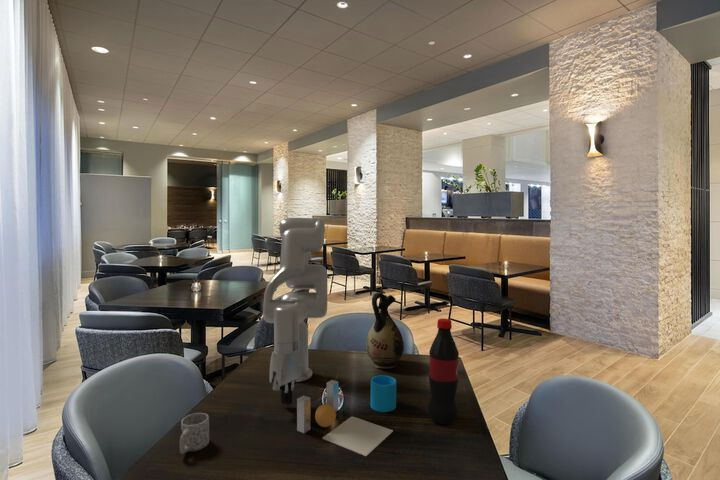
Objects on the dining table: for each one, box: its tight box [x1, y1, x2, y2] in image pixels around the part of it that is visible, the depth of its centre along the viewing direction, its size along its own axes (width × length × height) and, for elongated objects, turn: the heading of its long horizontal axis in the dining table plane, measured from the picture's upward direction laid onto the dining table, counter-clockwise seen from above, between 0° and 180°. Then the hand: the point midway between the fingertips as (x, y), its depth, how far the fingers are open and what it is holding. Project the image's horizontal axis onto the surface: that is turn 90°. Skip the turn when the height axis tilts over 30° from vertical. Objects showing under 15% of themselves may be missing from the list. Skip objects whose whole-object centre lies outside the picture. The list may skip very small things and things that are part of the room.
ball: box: [314, 403, 337, 428], centre depth 109 cm, size 6×6×6 cm
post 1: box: [296, 395, 311, 434], centre depth 107 cm, size 3×3×9 cm
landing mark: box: [322, 416, 394, 457], centre depth 105 cm, size 14×14×1 cm
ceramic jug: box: [365, 292, 405, 370], centre depth 155 cm, size 17×15×30 cm
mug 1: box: [179, 412, 210, 455], centre depth 98 cm, size 10×7×7 cm, turn 174°
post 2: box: [326, 379, 339, 413], centre depth 118 cm, size 3×3×9 cm
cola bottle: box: [427, 317, 459, 425], centre depth 113 cm, size 8×8×30 cm
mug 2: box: [369, 375, 397, 413], centre depth 124 cm, size 12×8×8 cm
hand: (286, 403), depth 120 cm, fingers closed
